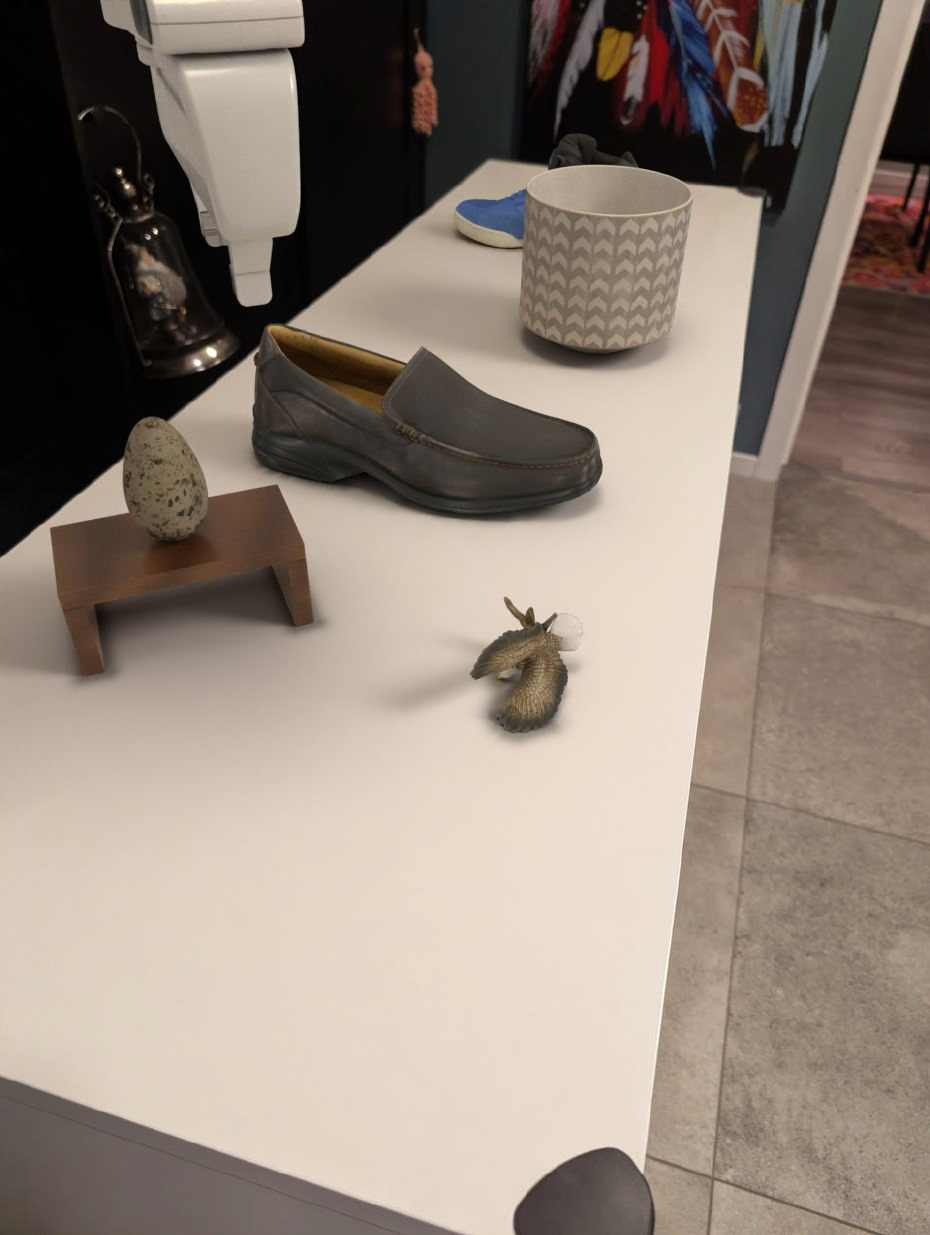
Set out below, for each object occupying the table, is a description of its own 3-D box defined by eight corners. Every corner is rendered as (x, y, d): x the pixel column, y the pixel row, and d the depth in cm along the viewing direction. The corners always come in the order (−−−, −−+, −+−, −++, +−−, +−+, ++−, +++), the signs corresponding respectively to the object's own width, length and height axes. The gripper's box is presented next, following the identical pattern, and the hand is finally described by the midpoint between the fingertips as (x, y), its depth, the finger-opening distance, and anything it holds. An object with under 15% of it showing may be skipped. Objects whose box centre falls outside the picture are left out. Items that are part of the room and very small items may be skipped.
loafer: (588, 540, 88) (603, 412, 80) (226, 483, 94) (204, 359, 86) (607, 467, 98) (623, 347, 89) (278, 420, 104) (263, 304, 96)
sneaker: (466, 220, 155) (468, 109, 145) (645, 243, 148) (661, 128, 138) (439, 245, 146) (439, 129, 136) (629, 271, 139) (644, 150, 129)
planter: (660, 382, 112) (685, 223, 101) (502, 361, 116) (509, 205, 104) (676, 319, 126) (700, 172, 115) (535, 302, 130) (544, 158, 118)
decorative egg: (228, 519, 76) (207, 405, 69) (193, 563, 71) (168, 445, 65) (159, 508, 77) (132, 394, 70) (121, 551, 72) (89, 433, 66)
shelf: (84, 676, 73) (57, 595, 68) (75, 606, 80) (49, 527, 75) (313, 622, 79) (304, 543, 73) (287, 560, 85) (277, 483, 80)
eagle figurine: (474, 628, 76) (444, 688, 69) (529, 569, 73) (504, 626, 65) (548, 686, 77) (526, 752, 70) (605, 631, 74) (590, 694, 66)
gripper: (102, -47, 52) (153, 218, 61) (154, 13, 37) (211, 350, 46) (219, -50, 53) (252, 208, 62) (313, 6, 39) (338, 331, 48)
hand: (235, 269), depth 54 cm, fingers open, 8 cm apart
